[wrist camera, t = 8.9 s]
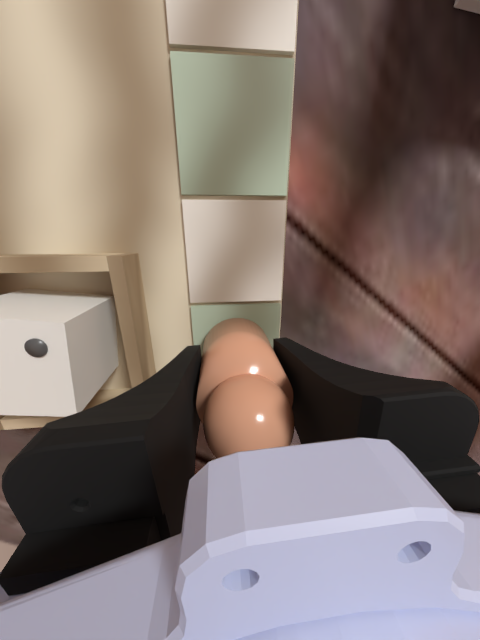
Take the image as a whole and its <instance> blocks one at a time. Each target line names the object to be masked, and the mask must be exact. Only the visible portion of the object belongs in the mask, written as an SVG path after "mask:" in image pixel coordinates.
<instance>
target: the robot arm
mask: <svg viewBox="0 0 480 640" xmlns="http://www.w3.org/2000/svg"><path fill="white" fill-rule="evenodd" d="M273 350H274V352H275V354H276V356H277V358H278V360H279V362H280V364H281V366H282V367H283V369H284V371H285V373H286V375H287V377H288V379H289V381H290V383H291V386H292V389H293V405H292V410H293V414H294V426H295V429H296V431H297V434H298V436H299V439H300V442H301V444H298V445H290V446H281V447H273V448H265V449H256V450H248V451H240V452H235V453H232V454H229V455H226V456H223V457H220V458H217V459H214V460H211V461H210V462H208V463H207V464H206V465H205V466H204V467H203V468H202V469H201V470H200V471H199V472H197V473H196V474H195V475H194V472H195V456H196V444H197V437H198V431H199V425H200V418H199V416H198V413H197V409H196V399H197V391H198V383H199V375H200V368H201V360H202V356H201V347H200V345H192V346H187V347H186V348H185V349H183V350H182V351H181V352H180V353H179V354H178V355H177V356H176V357H175V358H174V359H173V360H172V361H170V362H169V363H168V364H167V365H166V366H164V367H163V368H162V369H161V370H159V371H158V372H157V373H156V374H154V375H153V376H151V377H150V378H148V379H147V380H145V381H144V382H142V383H141V384H139V385H137V386H136V387H134V388H132V389H130V390H128V391H126V392H124V393H122V394H120V395H119V396H117V397H115V398H112V399H110V400H108V401H106V402H104V403H101V404H99V405H96V406H94V407H92V408H89V409H86V410H84V411H81V412H78V413H75V414H73V415H70V416H67V417H64V418H61V419H58V420H55V421H52V422H49V423H46V424H45V426H44V427H43V428H42V429H41V430H40V431H39V432H38V433H37V434H36V435H35V436H34V437H33V438H32V440H31V441H30V442H29V443H28V444H27V445H26V446H25V447H24V448H23V449H22V450H21V451H20V453H19V454H18V455H17V456H16V457H15V458H14V459H13V460H12V461H11V462H10V463H9V464H8V466H7V468H6V470H5V472H4V474H3V475H2V490H3V493H4V495H5V498H6V501H7V502H8V504H9V506H10V508H11V509H12V511H13V513H14V514H15V516H16V518H17V520H18V521H19V523H20V525H21V526H22V528H23V530H24V531H25V533H26V535H25V536H24V538H23V539H22V541H21V543H20V544H19V546H18V547H17V549H16V550H15V552H14V553H13V555H12V556H11V558H10V559H9V561H8V563H7V564H6V566H5V567H4V569H3V570H2V572H0V640H480V476H479V475H478V474H477V473H478V472H480V466H479V464H477V463H476V462H475V461H474V460H473V459H472V458H470V457H469V456H468V455H467V454H468V452H469V449H470V446H471V444H472V441H473V439H474V436H475V433H476V431H477V427H478V423H479V414H478V408H477V406H476V404H475V402H474V401H473V400H472V399H471V398H469V397H468V396H467V395H465V394H464V393H462V392H461V391H459V390H457V389H456V388H454V387H453V386H451V385H449V384H448V383H446V382H442V381H433V380H423V379H414V378H406V377H400V376H394V375H388V374H383V373H378V372H373V371H369V370H365V369H361V368H357V367H354V366H350V365H347V364H344V363H341V362H338V361H335V360H333V359H330V358H328V357H325V356H323V355H321V354H318V353H316V352H314V351H312V350H310V349H308V348H306V347H304V346H302V345H300V344H298V343H296V342H294V341H292V340H290V339H288V338H275V339H273Z"/></svg>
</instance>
